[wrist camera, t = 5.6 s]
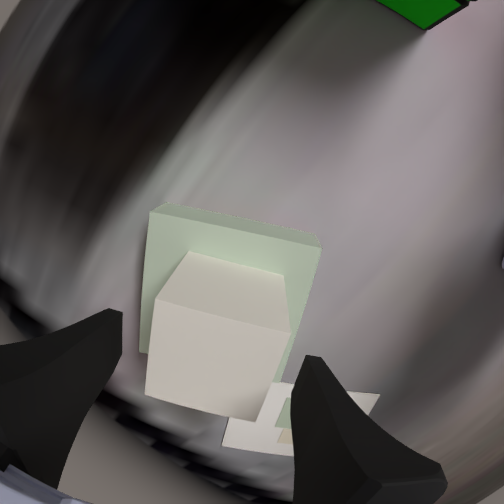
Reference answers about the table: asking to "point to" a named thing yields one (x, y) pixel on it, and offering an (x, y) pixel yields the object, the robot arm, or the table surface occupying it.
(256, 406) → the cream brick
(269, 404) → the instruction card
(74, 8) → the table surface
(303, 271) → the base brick
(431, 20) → the puzzle cube
